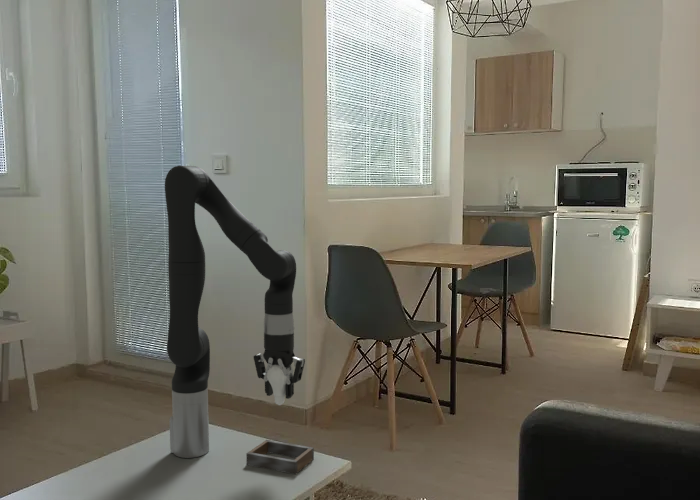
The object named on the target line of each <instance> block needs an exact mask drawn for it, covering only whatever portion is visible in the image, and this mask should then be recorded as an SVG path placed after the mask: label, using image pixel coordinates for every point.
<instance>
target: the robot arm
mask: <svg viewBox="0 0 700 500" xmlns="http://www.w3.org/2000/svg"><path fill="white" fill-rule="evenodd" d="M164 195H165V203H166V210H167V211H166V212H167V223H168V225H167V227H168V228H167V229H168V230H167V233H168V235H167V236H168V237H167V239H168V262H167V263H168V297H169V300H168V301H169V321H168V322H169V323H168V331H167V332H168V333H167V342H166V352H167V355H168V357H169V359H170V361H171V362H172V363H173V364H174V365H175V369H174V373H173V376H172V378H171V398H172V399H171V401H172V402H171V403H172V404H171V405H172V415H171V416H170V417H169V447H170V450H169V451H170V454H171V453H173V455H174V456H176V457H178V458H183V459H185V458H186V459H188V458H189V459H190V458H197V457H198V458H199V457H201V456H204V455H207V454H208V453H209V451H210V427H209V426H210V425H209V392H208V389H209V388H208V387H209V377H210V372H211V371H210V369H211V366H210V362H211V349H210V348H211V345H210V344H211V343H210V340H209V337H208V334H207V333H206V331H205V330H204V329H202V328H201V327H200V326H199V311H200V304H201V301H202V296H203V293H204V288H205V281H206V253H205V247H204V246H203V242H202V239H201V237H200V235H199V231H198V228H197V225H196V204H197V205H198V206H200V207H201V208H203V209H204V210H206V212H208V213H209V214H210V215H211V216H212V218H214V219H215V221H216V223H217V224H218V226H219V227H220V229H221V231H222V232H223V234H224V235H225V237H226V238H228V239H229V241H230V242H231V243H232V244H234V245H235V246H236V247H237V248H238V249H239V250H240V251H241V252H243V253H244V254H245V255H246V256H247V258H248V259H249V261H250V263H251V264H252V265H253V267H254V268H255V269H256V270H257V272H258V273H259V274H260V275H261V276H262V277H264V279H265V278H266V279H267V280H269V286H268V289H267V290H266V292H265V294H264V318H263V347H264V348H263V349H264V352H263V353H261V352H259V353H257V354H255V355H253V362H254V365H255V366H254V367H255V370H256V373H257V378H258V379H262V380H263V381H264V392H265V394H266V396H267V397H268V396H269V397H270V396H272V395H273V389H272V386H271V384H270V383H269V381H268V378H267V372H268V370H269V369H270V368H271V367H272V366H273V365H279V366H280V368H281V370H282V371H283V373H284V375H285V376H286V383H287V384H286V394H285V399H288V400H290V399H291V398H292V397H293V396H294V393H295V384H296V383H297V382H300V381H301V380H302V377H303V371H304V368H305V364H306V363H305V362H306V359H305V358H304V357H302V358H299V357H296V355H295V353H294V351H295V350H294V348H295V320H294V313H293V312H294V311H293V310H294V309H293V305H294V303H293V302H294V301H293V293H294V288H295V285H296V284H295V283H296V276H297V263H296V259H295V256H294V255H293V253H292V252H290V251H288V250H284V249H283V250H282V249H281V250H275V249H274V248H273V247H272V246H271V245H270V243H268V242H269V241H268V236H267V235H266V234H265V233H264V232H263V231H262V230H261V229H260V228H259V227H258V226H257V225H255V224H254V223H253V222H252V221H251V220H250V219H248V218H247V216H245V215H244V214H243V212H241V211H240V210H239V209H238V208H237V207H236V206H235V205H234V204H233V203H232V202H231V201H230V200H229V198H228V197H227V196H226V195H225V193H223V192H222V190H221V189H220V188H219V186H218V185H217V184H216V183H215V181H214V180H213V179H212V178H211V176H210V175H209V174H208V173H207V172H206V171H205V170H204V169H203V168H201V167H198V166H194V165H175V166H173V167H171V169H170V170H169V171H168V172H167V173H166V175H165V179H164ZM265 362H266V364H267V365H265ZM292 364H293V366H294V369H293V366H292ZM288 368H290V371H287V370H286V369H288ZM290 373H291V378H290V376H289V374H290Z"/></svg>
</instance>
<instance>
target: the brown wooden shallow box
mask: <svg viewBox="0 0 700 500" xmlns="http://www.w3.org/2000/svg"><path fill="white" fill-rule="evenodd" d="M268 453H269V454H274V455H275V454H276V455H280V456H284V457H291V458H295V459H289V458H284V457H278V456H273V455H267V454H268ZM245 454H246V466H250V467H256V468H262V469H267V470H272V471H277V472H283V473H286V474H287V473H288V474H292V475H296V474H298V473H299V472H300V471H302V469H304V468H305V467H306V466H307V465H309V464H310V463H311V462H312V461H313V460H314V458H315V457H314V456H315V449H314V447H311V446H305V445H299V444H295V443H289V442H288V443H287V442H283V441H282V442H281V441H276V440H271V439H265V440H263V442H261V443H259V444H258V445H256V446H255V447H254V448H252V449H251V450H249V451H247V452H246V453H245Z"/></svg>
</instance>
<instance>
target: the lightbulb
mask: <svg viewBox="0 0 700 500" xmlns="http://www.w3.org/2000/svg"><path fill="white" fill-rule="evenodd" d="M286 370H287V371H290V368H288V369H286ZM289 376H290V378H291V373H290V374H289ZM267 378H268V381H269V383H270V384H271V386H272V389H273V394H272V395H273V397H274V398H273V399H274V400H273V401H274V404H276V405H277V406H282V405H283V404H284V403H285V401H286V400H285V399H286V384H287V383H286V376H285V375H284V373H283V371H282V370H281V368H280V366H279V365H273V366H272V367H271V368H270V369H269V370H268V372H267Z"/></svg>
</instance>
